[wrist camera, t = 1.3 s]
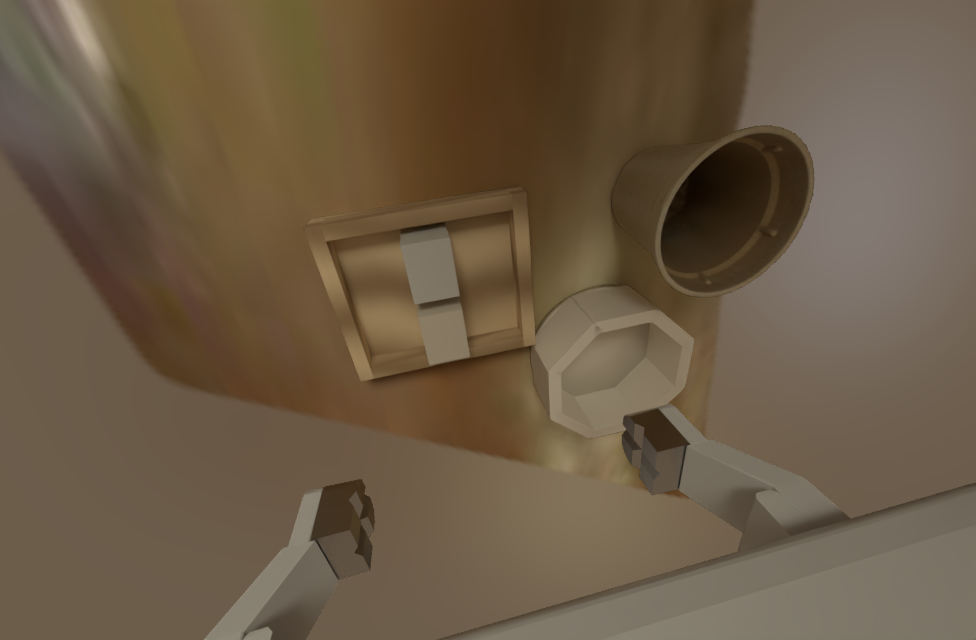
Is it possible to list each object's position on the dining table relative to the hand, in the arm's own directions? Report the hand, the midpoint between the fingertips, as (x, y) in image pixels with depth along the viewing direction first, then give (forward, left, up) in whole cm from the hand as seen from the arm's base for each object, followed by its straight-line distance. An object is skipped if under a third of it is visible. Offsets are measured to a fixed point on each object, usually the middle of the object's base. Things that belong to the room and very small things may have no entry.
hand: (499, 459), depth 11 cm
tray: (+2, -1, -19) cm, 19 cm away
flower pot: (-2, +16, -19) cm, 25 cm away
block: (+4, -1, -18) cm, 18 cm away
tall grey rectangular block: (-1, -1, -18) cm, 18 cm away
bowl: (+11, +12, -19) cm, 25 cm away
